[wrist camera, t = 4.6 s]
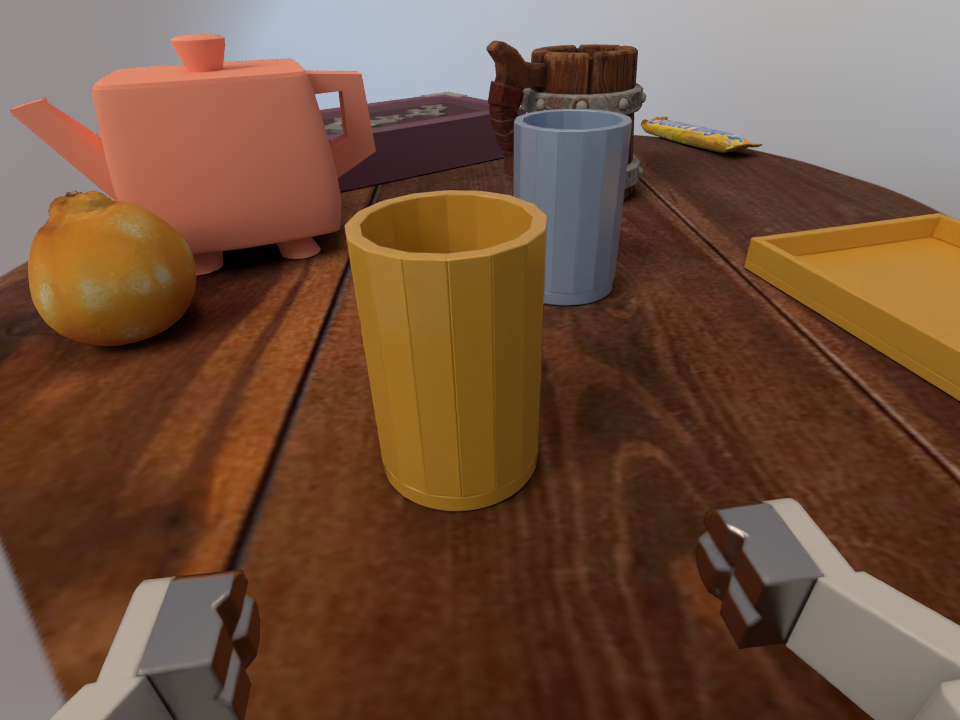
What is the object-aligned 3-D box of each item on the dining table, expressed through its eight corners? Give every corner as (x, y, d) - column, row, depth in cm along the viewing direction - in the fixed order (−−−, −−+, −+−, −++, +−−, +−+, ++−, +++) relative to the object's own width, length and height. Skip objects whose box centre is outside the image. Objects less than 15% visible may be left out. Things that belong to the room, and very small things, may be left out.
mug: (675, 189, 52) (681, 0, 43) (549, 248, 48) (526, 50, 39) (592, 163, 61) (583, 0, 51) (479, 210, 56) (447, 42, 47)
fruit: (13, 286, 33) (-20, 177, 27) (160, 255, 38) (158, 159, 32) (72, 395, 31) (49, 303, 25) (218, 347, 36) (228, 262, 30)
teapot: (65, 305, 36) (-55, 53, 28) (99, 239, 46) (17, 39, 38) (401, 249, 42) (377, 31, 35) (367, 201, 52) (343, 23, 45)
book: (450, 131, 78) (448, 91, 75) (526, 153, 66) (527, 107, 64) (266, 163, 65) (256, 117, 63) (321, 196, 54) (311, 141, 52)
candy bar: (635, 132, 74) (637, 117, 73) (662, 129, 75) (664, 114, 74) (730, 161, 61) (734, 142, 60) (760, 156, 62) (764, 138, 61)
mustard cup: (561, 492, 22) (578, 243, 16) (393, 528, 20) (352, 271, 15) (511, 396, 27) (512, 183, 21) (375, 420, 26) (340, 200, 20)
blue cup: (630, 297, 35) (653, 125, 30) (532, 312, 34) (536, 135, 28) (588, 258, 40) (601, 105, 35) (501, 269, 39) (500, 113, 34)
